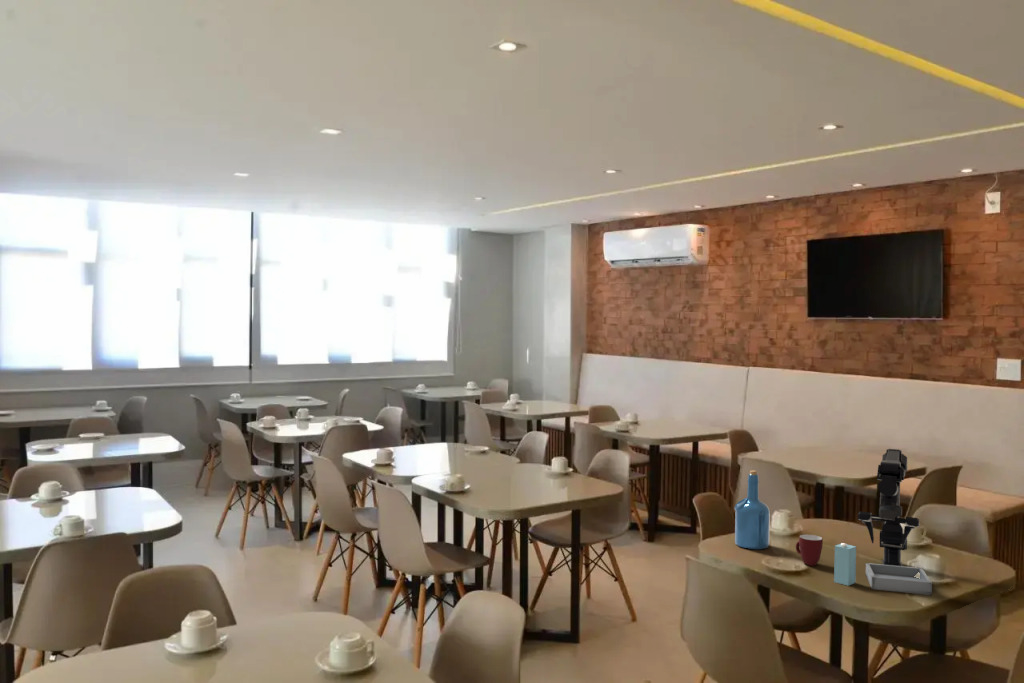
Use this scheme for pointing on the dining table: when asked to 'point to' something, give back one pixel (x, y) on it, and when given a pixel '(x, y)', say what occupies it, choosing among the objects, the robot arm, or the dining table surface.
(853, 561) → the carton
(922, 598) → the dining table surface
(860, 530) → the dining table surface
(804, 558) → the mug
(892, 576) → the gray square tray
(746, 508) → the wine bottle
